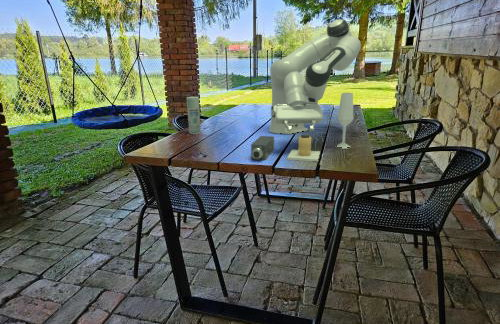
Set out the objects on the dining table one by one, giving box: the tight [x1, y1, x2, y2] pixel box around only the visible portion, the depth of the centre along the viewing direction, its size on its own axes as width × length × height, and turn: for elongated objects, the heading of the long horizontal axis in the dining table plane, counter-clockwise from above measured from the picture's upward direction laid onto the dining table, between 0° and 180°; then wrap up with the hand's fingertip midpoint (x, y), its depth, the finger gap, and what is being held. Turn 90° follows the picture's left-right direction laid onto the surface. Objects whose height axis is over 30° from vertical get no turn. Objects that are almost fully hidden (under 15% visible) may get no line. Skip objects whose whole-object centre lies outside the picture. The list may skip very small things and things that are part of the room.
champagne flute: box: [336, 92, 354, 149], centre depth 138 cm, size 7×7×24 cm
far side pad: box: [286, 149, 321, 163], centre depth 127 cm, size 12×12×1 cm
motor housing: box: [250, 135, 275, 161], centre depth 130 cm, size 22×6×6 cm, turn 164°
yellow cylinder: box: [297, 133, 312, 156], centre depth 125 cm, size 5×5×8 cm
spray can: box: [186, 96, 201, 135], centre depth 171 cm, size 6×6×20 cm
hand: (300, 130), depth 127 cm, fingers open, 8 cm apart
